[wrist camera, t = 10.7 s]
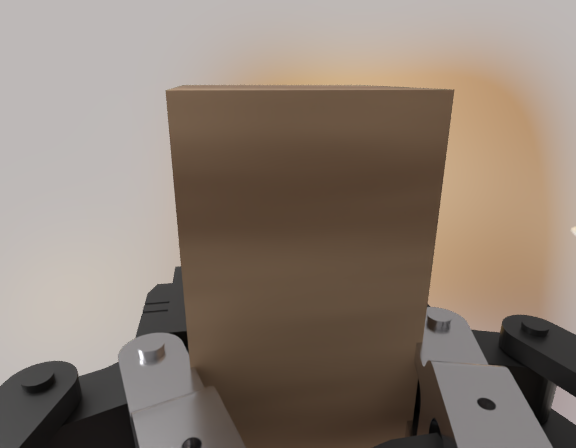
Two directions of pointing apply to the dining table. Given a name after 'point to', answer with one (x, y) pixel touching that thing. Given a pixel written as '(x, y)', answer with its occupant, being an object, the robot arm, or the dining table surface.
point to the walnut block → (308, 252)
